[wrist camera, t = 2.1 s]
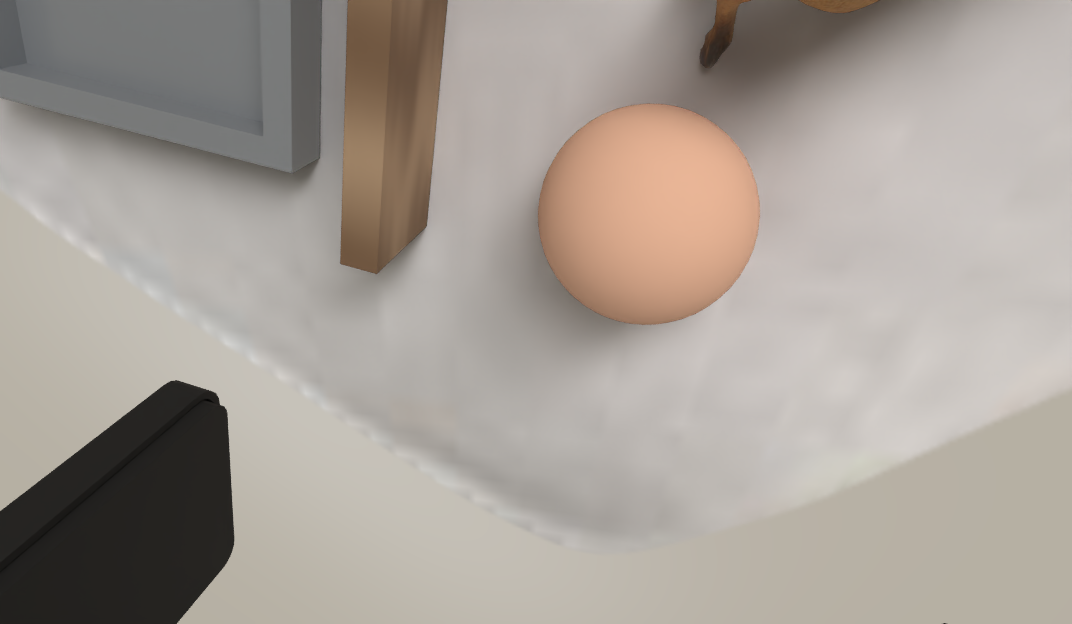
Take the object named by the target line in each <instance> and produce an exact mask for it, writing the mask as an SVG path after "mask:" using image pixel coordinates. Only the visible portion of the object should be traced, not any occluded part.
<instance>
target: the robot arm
mask: <svg viewBox="0 0 1072 624" xmlns="http://www.w3.org/2000/svg"><path fill="white" fill-rule="evenodd" d="M230 473H231V472H230V453H229V435H228V417H227V410H226V409H225V407H224V406H221V405H220V403H219V398H218V396H217V395H216V393H214V392H212V391H209V390H206V389H203V388H200V387H196V386H193V385H190V384H187V383H184V382H180V381H177V380H176V381H170V382H169V383H167V384H165V385H163V386H162V387H161V388H160V389H158V390H157V391H156V392H155V393H153V394H152V395H151V396H149V397H148V398H147V399H145V400H144V401H143V402H141V403H140V404H139V405H137V406H136V407H135V408H134V409H132V410H131V411H130V412H128V413H127V414H126V415H125V416H123V417H122V418H121V419H119V420H118V421H117V422H115V423H114V424H113V425H112V426H110V427H109V428H108V429H107V430H105V431H104V432H103V433H101V434H100V435H99V436H98V437H96V438H95V439H93V440H92V441H91V442H89V443H88V444H87V445H86V446H84V447H83V448H82V449H80V450H79V451H78V452H77V453H75V454H74V455H73V456H71V457H70V458H69V459H67V460H66V461H65V462H64V463H62V464H61V465H60V466H58V467H57V468H56V469H55V470H53V471H52V472H51V473H49V474H48V475H47V476H46V477H44V478H43V479H41V480H40V481H39V482H38V483H36V484H35V485H34V486H33V487H31V488H30V489H29V490H28V491H26V492H25V493H23V494H22V495H21V496H19V497H18V498H17V499H16V500H14V501H13V502H12V503H10V504H9V505H8V506H7V507H5V508H4V509H3V510H1V511H0V624H177V622H178V621H179V620H180V619H181V618H182V617H183V615H184V614H185V613H186V612H187V611H188V609H189V608H190V607H191V606H192V605H193V603H194V602H195V601H196V600H197V599H198V597H199V596H200V595H201V594H202V592H203V591H204V590H205V589H206V588H207V587H208V585H209V584H210V583H211V582H212V581H213V579H214V578H215V577H216V576H217V575H218V573H219V572H220V571H221V570H222V568H223V567H224V566H225V564H226V563H227V561H228V559H229V557H230V555H231V553H232V549H233V546H234V527H233V508H232V490H231V474H230ZM944 624H946V623H944Z"/></svg>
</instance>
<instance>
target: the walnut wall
mask: <svg viewBox="0 0 1072 624" xmlns="http://www.w3.org/2000/svg"><path fill="white" fill-rule="evenodd" d="M446 11H447V0H348V12H347V47H346V82H345V118H344V153H343V188H342V224H341V259H340V264H343V265H346V266H350V267H353V268H357V269H361V270H364V271H368V272H372V273H375V274H377V273H378V272H379V271H380V270H381V269H382V268H383V267H385V266H386V265H387V264H388V263H389V262H390V261H391V260H392V259H393V258H394V257H395V256H396V255H397V254H398V253H399V252H400V251H401V250H402V249H403V248H404V247H405V246H406V245H408V244H409V243H410V242H411V241H412V240H413V239H414V238H415V237H416V236H417V235H418V234H419V233H420V232H421V231H422V230H423V229H424V228H425V227H426V226H427V216H428V206H429V195H430V184H431V173H432V162H433V152H434V141H435V130H436V119H437V108H438V98H439V87H440V76H441V65H442V54H443V44H444V33H445V22H446Z"/></svg>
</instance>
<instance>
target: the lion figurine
mask: <svg viewBox="0 0 1072 624" xmlns="http://www.w3.org/2000/svg"><path fill="white" fill-rule="evenodd" d="M748 1H751V0H717V8H716V16H715V24H714V26H713V28H712V29H711V30H710V31H709V32H708V33H707V35H706V36H705V43H704V45H703V47H702V49H701V52H700V62H701V64H702V65H703V66H704V67H705V68H711V67H712V66H714V64H715V63H716V62H717V60H718V59H719V57H720V56H721V54H722V53H723V52H724V51H725V50H726V49H727V47H728V46H729V45H730V43H731V42H732V38H733V30H734V24H735V19H736V13H737V9H738V6H739V5H740V4H741V3H743V2H748ZM799 1H801V2H802V3H804V4H806V5H809V6H811V7H814V8H817V9H819V10H822V11H827V12H832V13H846V12H851V11H854V10H857V9H860V8H863V7H866V6H868V5H870V4H873V3H875V2H877V1H879V0H799Z"/></svg>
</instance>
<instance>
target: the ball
mask: <svg viewBox="0 0 1072 624" xmlns="http://www.w3.org/2000/svg"><path fill="white" fill-rule="evenodd" d="M759 219H760V203H759V196H758V191H757V186H756V182H755V179H754V176H753V173H752V170H751V168H750V166H749V164H748V162H747V160H746V158H745V156H744V155H743V153H742V152H741V150H740V149H739V147H738V146H737V145H736V144H735V142H734V141H733V140H732V139H731V138H730V137H729V136H728V135H727V134H726V133H725V132H724V131H723V130H722V129H720V128H719V127H718V126H717V125H716V124H714V123H713V122H711V121H709V120H708V119H706V118H705V117H703V116H701V115H699V114H697V113H694V112H692V111H690V110H687V109H683V108H680V107H677V106H671V105H665V104H639V105H631V106H626V107H622V108H618V109H615V110H613V111H610V112H607V113H605V114H603V115H601V116H599V117H597V118H595V119H594V120H592V121H590V122H589V123H587V124H586V125H585V126H583V127H582V128H581V129H579V130H578V131H577V132H576V133H575V134H574V135H573V136H572V137H571V138H570V139H569V140H568V141H567V142H566V143H565V144H564V145H563V147H562V148H561V149H560V151H559V152H558V153H557V155H556V157H555V159H554V160H553V162H552V164H551V166H550V167H549V169H548V172H547V174H546V177H545V179H544V182H543V186H542V190H541V194H540V200H539V209H538V226H539V232H540V238H541V243H542V246H543V250H544V253H545V256H546V258H547V260H548V263H549V265H550V267H551V269H552V270H553V272H554V274H555V275H556V277H557V278H558V279H559V281H560V282H561V283H562V285H563V286H564V287H565V288H566V289H567V290H568V291H569V292H570V293H571V294H572V295H573V296H574V297H575V298H576V299H577V300H578V301H580V302H581V303H582V304H583V305H585V306H586V307H588V308H590V309H591V310H593V311H594V312H596V313H599V314H601V315H603V316H605V317H608V318H611V319H614V320H617V321H621V322H625V323H630V324H641V325H649V324H661V323H668V322H672V321H676V320H680V319H683V318H686V317H688V316H691V315H693V314H696V313H697V312H699V311H701V310H703V309H705V308H706V307H708V306H709V305H711V304H712V303H713V302H715V301H716V300H717V299H719V298H720V297H721V296H722V295H723V294H724V293H725V292H726V291H727V290H729V289H730V287H731V286H732V285H733V284H734V283H735V281H736V280H737V279H738V278H739V276H740V274H741V273H742V271H743V269H744V268H745V266H746V264H747V263H748V261H749V258H750V256H751V254H752V251H753V249H754V246H755V242H756V238H757V234H758V227H759Z"/></svg>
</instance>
